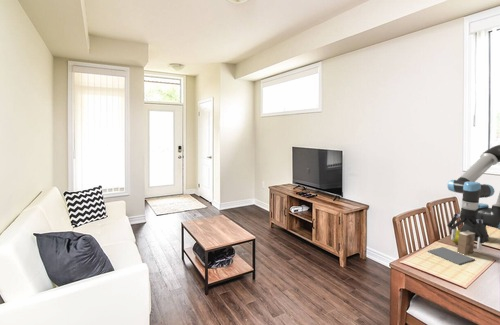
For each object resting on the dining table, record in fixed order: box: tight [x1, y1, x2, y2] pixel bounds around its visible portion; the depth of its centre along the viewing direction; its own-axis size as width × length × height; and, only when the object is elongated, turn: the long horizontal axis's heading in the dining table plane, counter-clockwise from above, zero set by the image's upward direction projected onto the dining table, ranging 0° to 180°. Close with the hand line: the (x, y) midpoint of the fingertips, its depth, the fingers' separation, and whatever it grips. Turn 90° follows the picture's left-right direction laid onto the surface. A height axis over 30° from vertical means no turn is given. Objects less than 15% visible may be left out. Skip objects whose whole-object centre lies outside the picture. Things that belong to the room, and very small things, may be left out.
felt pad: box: [427, 246, 475, 266], centre depth 155 cm, size 14×17×1 cm
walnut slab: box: [456, 231, 475, 256], centre depth 159 cm, size 8×4×12 cm, turn 113°
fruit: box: [451, 226, 461, 245], centre depth 171 cm, size 7×7×12 cm
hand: (465, 243), depth 159 cm, fingers open, 13 cm apart
